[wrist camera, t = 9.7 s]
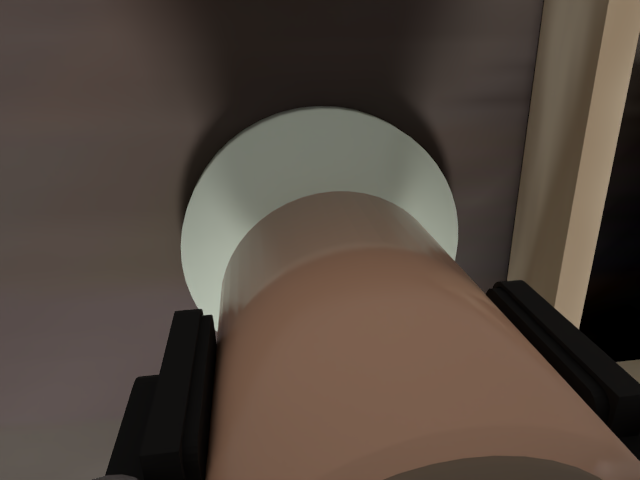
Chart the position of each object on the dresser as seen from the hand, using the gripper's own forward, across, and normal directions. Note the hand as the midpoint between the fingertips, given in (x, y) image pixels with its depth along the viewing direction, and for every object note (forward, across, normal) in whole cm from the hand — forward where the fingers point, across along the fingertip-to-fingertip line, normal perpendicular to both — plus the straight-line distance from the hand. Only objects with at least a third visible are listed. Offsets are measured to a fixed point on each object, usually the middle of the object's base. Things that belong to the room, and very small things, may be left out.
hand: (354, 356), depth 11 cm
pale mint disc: (+7, 0, 0) cm, 7 cm away
